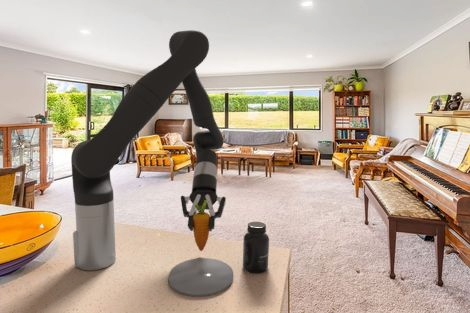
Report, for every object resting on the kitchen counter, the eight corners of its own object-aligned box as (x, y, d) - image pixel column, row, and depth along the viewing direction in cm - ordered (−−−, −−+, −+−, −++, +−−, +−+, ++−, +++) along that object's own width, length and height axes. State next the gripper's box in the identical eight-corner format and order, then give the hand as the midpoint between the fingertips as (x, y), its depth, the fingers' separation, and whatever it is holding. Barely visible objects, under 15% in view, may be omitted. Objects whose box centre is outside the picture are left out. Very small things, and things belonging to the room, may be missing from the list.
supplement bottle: (266, 275, 73) (268, 230, 72) (240, 272, 74) (241, 228, 73) (269, 262, 80) (270, 221, 78) (245, 260, 81) (245, 219, 80)
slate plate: (161, 296, 64) (161, 292, 64) (175, 261, 80) (175, 257, 80) (233, 296, 64) (233, 292, 64) (233, 261, 80) (233, 258, 80)
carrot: (193, 255, 81) (194, 203, 79) (191, 248, 86) (191, 199, 84) (211, 253, 82) (212, 202, 80) (208, 246, 87) (208, 198, 85)
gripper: (181, 172, 88) (173, 223, 78) (227, 173, 89) (226, 224, 78) (183, 185, 94) (177, 234, 84) (227, 186, 95) (226, 235, 84)
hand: (200, 229), depth 81 cm, fingers closed on carrot, 4 cm apart
